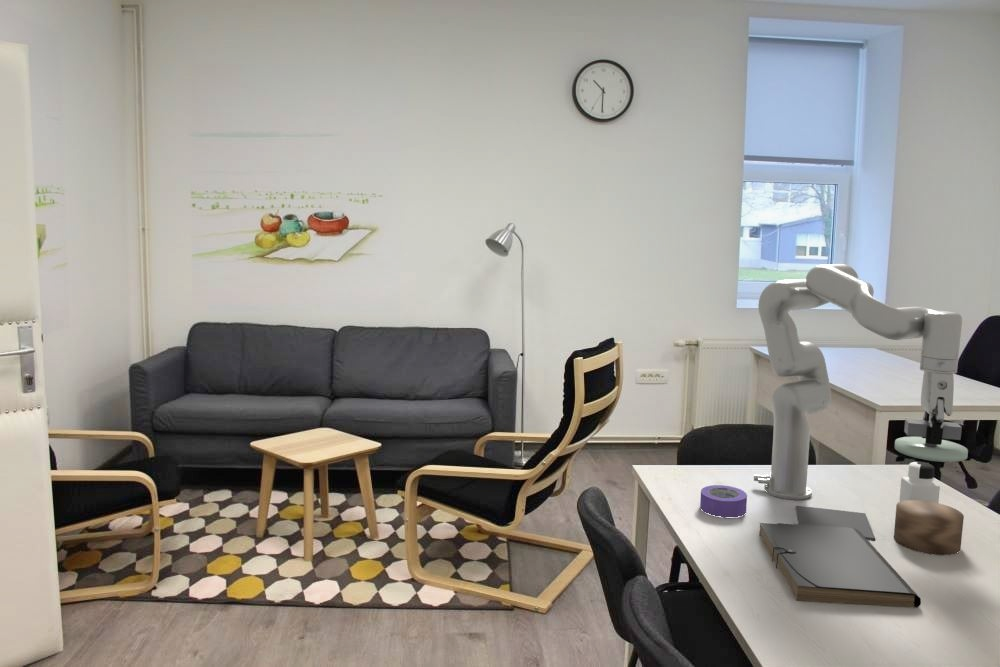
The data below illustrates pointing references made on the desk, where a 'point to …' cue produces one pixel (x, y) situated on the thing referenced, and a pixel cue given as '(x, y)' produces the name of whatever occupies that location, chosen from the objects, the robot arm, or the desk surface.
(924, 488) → the medicine bottle
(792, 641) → the desk surface
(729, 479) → the desk surface
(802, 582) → the file folder
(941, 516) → the canister
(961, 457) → the cover
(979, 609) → the desk surface
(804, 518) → the mat
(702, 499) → the tape roll
